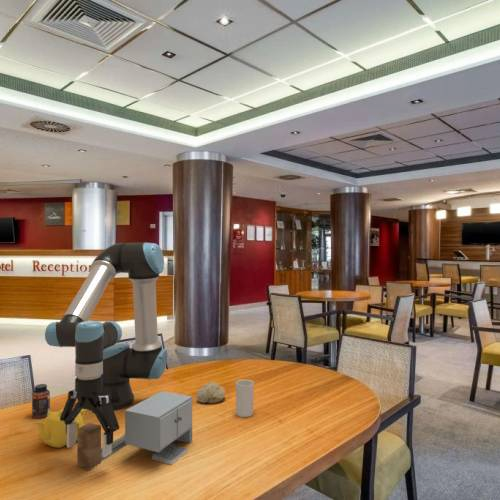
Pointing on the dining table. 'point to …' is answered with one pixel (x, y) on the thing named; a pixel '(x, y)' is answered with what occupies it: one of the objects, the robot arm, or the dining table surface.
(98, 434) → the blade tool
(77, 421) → the teapot
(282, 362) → the dining table surface
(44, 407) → the supplement bottle
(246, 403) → the mug
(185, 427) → the low cabinet
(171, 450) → the plate
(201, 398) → the decorative item
